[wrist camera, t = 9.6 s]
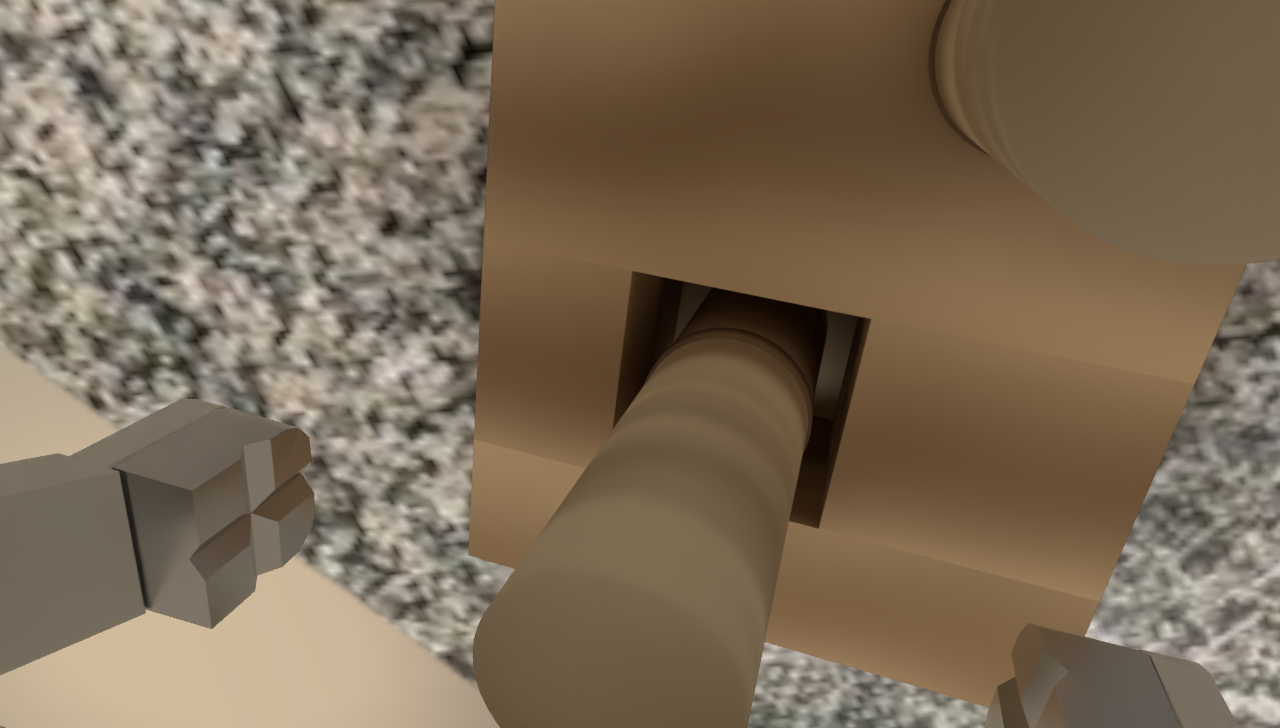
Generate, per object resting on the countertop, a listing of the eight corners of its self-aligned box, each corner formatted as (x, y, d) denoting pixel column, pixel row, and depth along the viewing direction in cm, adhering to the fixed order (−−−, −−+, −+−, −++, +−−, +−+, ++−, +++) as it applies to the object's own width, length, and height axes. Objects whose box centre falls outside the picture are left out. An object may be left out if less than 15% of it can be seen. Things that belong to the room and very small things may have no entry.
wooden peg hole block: (633, -110, 18) (90, -496, 6) (1204, -56, 16) (2492, -531, 3) (577, 424, 24) (234, 834, 11) (996, 528, 21) (1169, 1209, 9)
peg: (710, 248, 19) (471, 531, 8) (843, 274, 18) (780, 620, 7) (691, 368, 20) (463, 751, 9) (815, 396, 19) (725, 842, 9)
